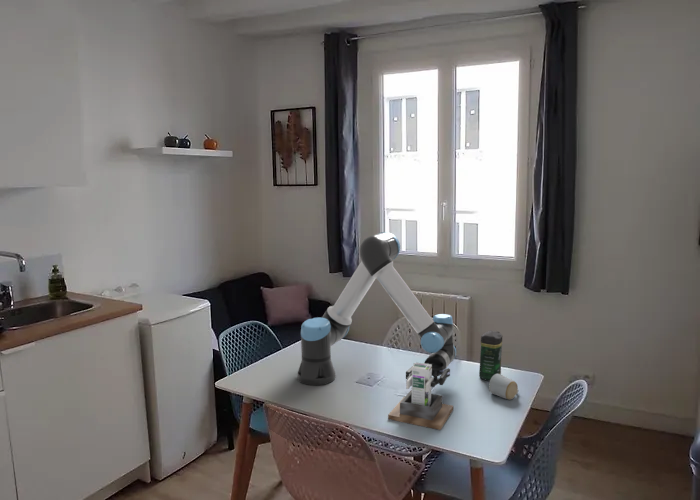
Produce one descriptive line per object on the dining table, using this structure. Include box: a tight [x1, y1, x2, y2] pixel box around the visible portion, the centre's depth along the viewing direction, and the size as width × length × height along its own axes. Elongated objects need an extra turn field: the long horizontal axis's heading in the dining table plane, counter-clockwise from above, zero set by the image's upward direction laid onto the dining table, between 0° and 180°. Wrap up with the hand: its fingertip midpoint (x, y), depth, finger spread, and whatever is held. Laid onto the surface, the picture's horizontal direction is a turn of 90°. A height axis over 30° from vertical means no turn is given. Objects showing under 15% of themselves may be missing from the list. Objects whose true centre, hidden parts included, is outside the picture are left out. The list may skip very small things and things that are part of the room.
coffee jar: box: [478, 330, 503, 382], centre depth 212 cm, size 10×8×19 cm
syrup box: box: [411, 361, 433, 407], centre depth 180 cm, size 6×6×14 cm
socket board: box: [387, 389, 454, 431], centre depth 181 cm, size 18×16×6 cm
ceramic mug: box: [488, 374, 519, 400], centre depth 196 cm, size 11×8×8 cm
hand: (416, 386), depth 175 cm, fingers closed on syrup box, 6 cm apart
